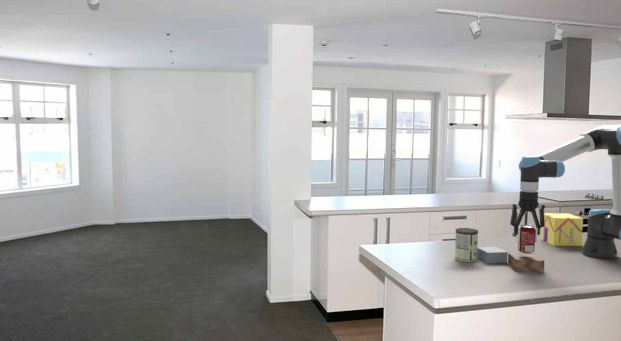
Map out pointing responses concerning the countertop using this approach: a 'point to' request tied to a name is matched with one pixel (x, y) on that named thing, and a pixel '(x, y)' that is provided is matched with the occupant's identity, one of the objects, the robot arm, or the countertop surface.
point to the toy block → (562, 229)
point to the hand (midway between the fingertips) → (526, 241)
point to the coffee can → (466, 244)
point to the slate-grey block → (492, 254)
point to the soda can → (527, 239)
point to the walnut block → (526, 262)
